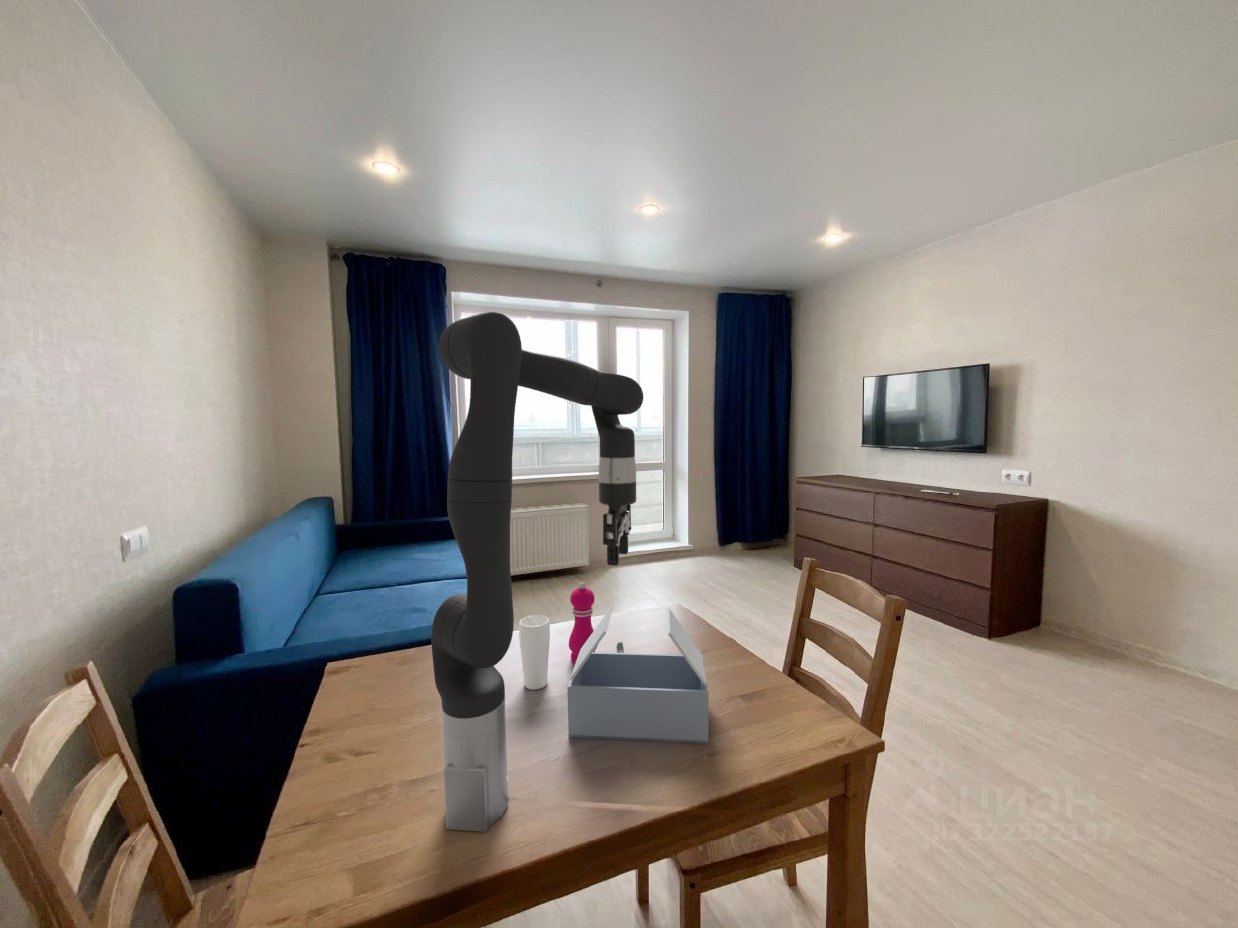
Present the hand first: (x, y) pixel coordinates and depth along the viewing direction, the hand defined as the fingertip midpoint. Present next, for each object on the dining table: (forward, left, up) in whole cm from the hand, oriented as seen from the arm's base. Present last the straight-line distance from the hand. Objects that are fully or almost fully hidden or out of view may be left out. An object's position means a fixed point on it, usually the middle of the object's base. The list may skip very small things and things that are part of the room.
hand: (618, 558), depth 98 cm
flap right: (-4, -17, -22) cm, 28 cm away
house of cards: (+15, -1, -32) cm, 35 cm away
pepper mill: (+19, +11, -32) cm, 39 cm away
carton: (-4, -4, -32) cm, 32 cm away
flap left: (-4, +8, -21) cm, 23 cm away
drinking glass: (+7, +20, -32) cm, 38 cm away
